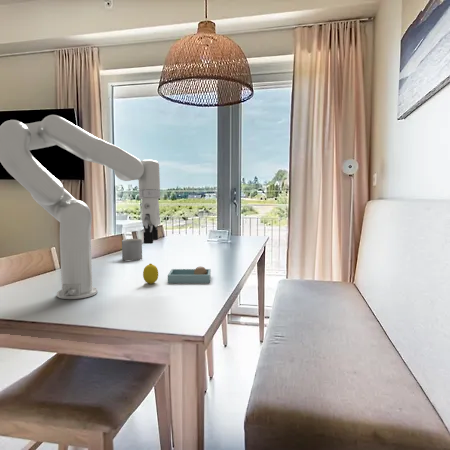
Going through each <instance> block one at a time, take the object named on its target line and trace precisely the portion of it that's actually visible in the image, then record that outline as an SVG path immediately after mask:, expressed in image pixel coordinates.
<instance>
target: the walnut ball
mask: <svg viewBox="0 0 450 450" xmlns="http://www.w3.org/2000/svg"><path fill="white" fill-rule="evenodd" d="M194 269H195V270H194V275H207V271H206V269H207V268H205V267H203V266H198V267H196V268H194Z"/></svg>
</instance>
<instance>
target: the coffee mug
mask: <svg viewBox="0 0 450 450" xmlns="http://www.w3.org/2000/svg"><path fill="white" fill-rule="evenodd" d="M121 257H122V259H124V260H137V261H141V260H142V259H143V239H141V238H125V239H122V240H121ZM140 259H141V260H140ZM124 260H123V261H124Z"/></svg>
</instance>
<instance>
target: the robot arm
mask: <svg viewBox="0 0 450 450" xmlns="http://www.w3.org/2000/svg"><path fill="white" fill-rule="evenodd" d="M53 146H58V147H60V148H61V149H63V150H66V151H67V152H69V153H71V154H73V155H75V157H78V158H80V159H81V160H84V161H87V162H88V163H89V162H90V163H94V164H99V165H102V166H104V167H106V168H109V169H111V170H113V172H114V174H115V176H116V177H117V178H118V180H121V181H123V182H129V181H138V199H139V200H141V220H142V221H141V222H142V226H143V244H144V245H145V244H147V245H148V244H153V243H154V241H157V240H158V239H159V230H158V226H159V225H160V224H161V215H160V204H159V199H161V183H160V182H161V181H160V179H161V178H160V175H161V174H160V163H159V161H157V160H153V159H143V160H140V159H139V158H137V157H136V156H135V155H133V154H131V153H129V152H127V151H126V150H125V149H122V148H120V147H119V146H116V145H115V144H112V143H110V142H108V141H105V140H103V139H102V138H98V137H97V136H95V135H93V134H92V133H90V132H88V131H86V130H84V129H83V128H81V127H80V126H78V125H75V124H74V123H73V122H71V121H69V120H67V119H66V118H64V117H62V116H60V115H57V114H49V115H47V116H45V117H44V118H42V120H41V121H40V120H39V121H35V122H30V123H23V122H22V121H19V120H17V119H10V120H6V121H4V122H2V124H1V125H0V163H1V165H2V166H3V168H4V169H5V170H6V172H7V173H8V174H9V175H10V176H11V177H13V178H14V179H15V180H16V182H18V183H19V184H20V185H21V186H22V187H23V188H24V189H25V190H26V191H27V192H28V193H30V196H31V198H32V200H34V201H35V202H36V203H37V204H38V205H39V206H40V207H41V208H43V210H44V211H46V212H47V213H48V214H49V215H51V216H52V217H53V218H54V219H55V220H56V221H58V222H59V252H60V256H59V257H60V274H61V275H60V277H61V278H60V280H61V290H59V291H57V292H56V297H57V298H59V299H62V300H77V299H80V300H81V299H85V298H91V297H93V296H94V295H97V293H98V288H97V287H94V286H93V266H92V265H93V264H92V263H93V261H92V221H93V220H92V219H93V218H92V212H91V209H90V207H89V206H88V204H87V203H85V202H84V201H82V200H79V199H76V198H75V197H74V196H72V194H71V193H70V192H68V191H67V190H66V188H64V185H63V183H62V182H61V181H60V179H58V178H57V177H55V175H53V174H52V173H51V172H50V171H49V170H47V168H46V167H44V166H43V165H42V164H41V163H40V162H39V161H38V160H37V159H36V157H34V155H33V154H32V153H31V151H32V150H39V149H44V148H49V147H53Z"/></svg>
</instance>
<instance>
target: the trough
mask: <svg viewBox="0 0 450 450" xmlns="http://www.w3.org/2000/svg"><path fill="white" fill-rule="evenodd" d="M195 269H196V268H172V269H171V270H169V273H168V274H167V283H168V284H210V283H211V276H212V270H211V268H205V269H206V271H207V275H194V270H195Z"/></svg>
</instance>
